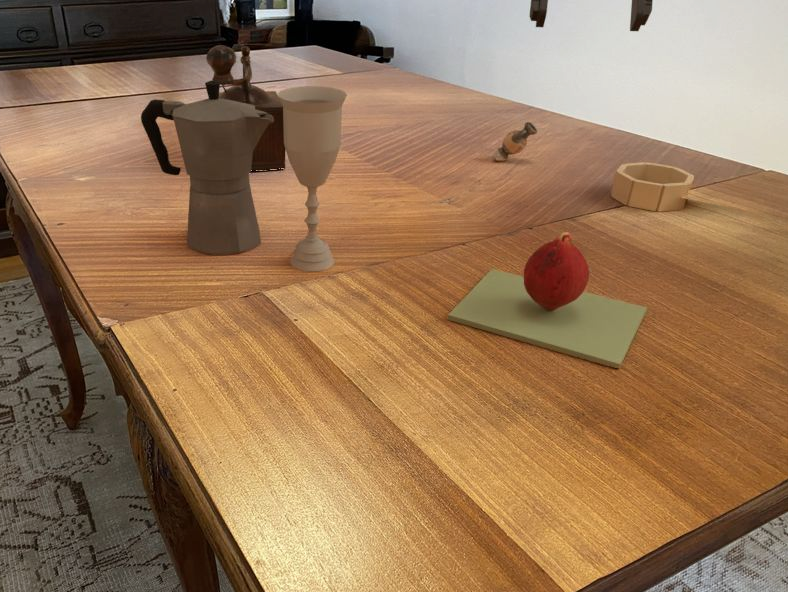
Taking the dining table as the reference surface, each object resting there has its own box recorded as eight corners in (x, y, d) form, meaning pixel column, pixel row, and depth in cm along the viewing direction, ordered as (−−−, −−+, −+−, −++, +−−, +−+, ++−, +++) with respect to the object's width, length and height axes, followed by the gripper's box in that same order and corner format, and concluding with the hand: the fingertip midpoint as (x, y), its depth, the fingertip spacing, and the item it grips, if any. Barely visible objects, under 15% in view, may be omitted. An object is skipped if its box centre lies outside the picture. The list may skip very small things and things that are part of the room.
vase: (536, 159, 111) (543, 120, 108) (524, 168, 107) (531, 128, 104) (504, 153, 113) (509, 115, 110) (491, 162, 110) (496, 123, 106)
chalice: (284, 247, 82) (281, 85, 72) (343, 248, 82) (347, 86, 72) (278, 275, 76) (274, 102, 66) (342, 276, 76) (346, 103, 66)
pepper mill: (209, 153, 112) (199, 30, 103) (278, 149, 114) (275, 29, 104) (215, 185, 99) (205, 48, 90) (292, 181, 101) (291, 46, 92)
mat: (646, 312, 70) (647, 307, 69) (618, 369, 61) (620, 364, 61) (491, 273, 77) (492, 268, 76) (447, 319, 68) (447, 314, 68)
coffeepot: (289, 231, 86) (286, 75, 76) (263, 263, 78) (256, 95, 69) (173, 217, 89) (156, 67, 80) (137, 247, 82) (114, 84, 72)
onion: (552, 331, 65) (570, 251, 61) (505, 306, 69) (518, 230, 65) (591, 313, 68) (610, 236, 64) (543, 290, 72) (558, 216, 68)
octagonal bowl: (690, 195, 98) (697, 170, 96) (679, 216, 91) (687, 190, 89) (620, 182, 102) (626, 158, 100) (605, 202, 95) (611, 176, 93)
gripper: (531, -157, 66) (514, -8, 63) (693, -158, 64) (685, -3, 60) (520, -91, 73) (505, 46, 70) (665, -89, 71) (657, 53, 68)
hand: (588, 23), depth 65 cm, fingers open, 8 cm apart
